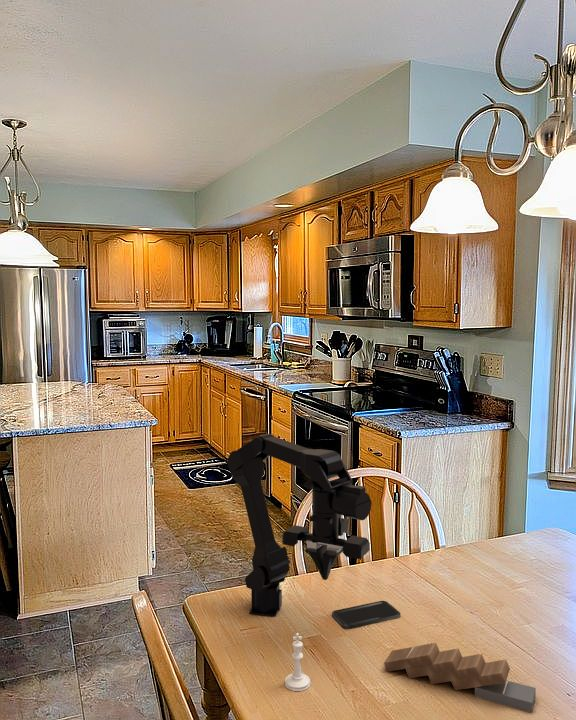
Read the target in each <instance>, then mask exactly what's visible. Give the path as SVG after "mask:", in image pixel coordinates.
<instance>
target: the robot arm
mask: <svg viewBox="0 0 576 720" xmlns="http://www.w3.org/2000/svg"><path fill="white" fill-rule="evenodd" d="M269 457H271V458H273V459H276V460H279V461H282V462H284V463H287V464H289V465H292V466H295V467H296V468H298V469H300V470H301V472H302V473H303V475H305V476H306V477H308V478H309V479H308V480H307V481H306V482H305V483H304V484H303V486H304V487H305V488H307V489H308V488H309V489H311V491H312V492H311V498H312V499H311V506H312V507H311V508H312V509H311V510H312V511H311V512H312V513H311V515H310V516H309V522H311V529H312V530H311V533H310V529H309V528H308V527H307V526H301V525H295V524H294V525H292V526H290V527H289V528H288V529H286V530H285V531H283V533H282V536H281V538H282V539H281V540H282V541H281V542H282V545H285V546H282V547H281V546H280V544H279V543H278V542H277V541H276V538H275V535H274V529H273V526H272V522H271V518H270V515H269V510H268V507H267V506H268V505H267V501H266V498H265V493H264V489H263V485H262V479H263V475H264V471H265V466H264V461H265V460H267V458H269ZM226 461H227V467H228V470H229V473H230V475H231V478H232V479H233V480H234V482H236V484H237V485H238V486H239V487H240V489H241V492H242V497H243V501H244V505H245V510H246V513H247V518H248V522H249V526H250V531H251V534H252V538H253V542H254V550H253V554H252V558H251V563H252V564H251V565H252V571H251V572H249V574H248V575H247V576H246V577H244V582H245V586H246V588H247V589H249V590H251V594H250V595H251V608H250V610H249V614H250V615H259V616H267V617H268V616H269V617H276V616H277V614H278V612H279V611H280V610H281V608H282V605H283V601H282V600H283V597H282V596H283V592H282V591H283V590H282V588H281V587H280V584H281V583H283V582H285V580H286V578H287V577H286V576H287V575H288V573H289V572H290V564H291V560H290V559H289V556H288V550H287V547H286V546H289V547H296V545H297V544H298V543H299V542H305V543H306V548H305V550H304V551H305V553H306V554H307V553H308V554H309V555H310V558H311V559H312V561H313V563H314V564H315V566H316V568H317V570H318V571H317V572H318V573H319V574H320V576H321V579H322V580H324V581H327V580H328V578H329V577H330V573H331V570H332V567H333V565H334V562H335V560H336V559H337V557H338V556H339V555H341V554H344V556H345V557H346V558H349V559H356V560H359V559H360V560H361V559H362V558H364V556H365V555H366V554H367V553H369V552H370V551H371V550H370V548H371V546H370V544H371V543H370V541H369V539H368V537H362V536H358V535H354V534H353V535H350V537H349V538H348V539H344V538H339V537H342V536H343V535H344V534H348V532H349V531H348V530H349V522H350V519H354V520H358V521H364V520H366V519H367V518H368V517H369V515H370V513H371V511H372V510H371V509H372V505H373V504H372V500H371V496H370V495H369V493H367V492H366V491H367V490H366V487H365V486H363V485H355V484H353V483H354V480H353V478H352V477H351V475H350V473H349V471H348V470H347V468H346V466H345V464H344V461H343V459H342V458H341V454H340V453H339V452H337V451H335V450H330V449H329V450H328V449H321V448H320V449H318V448H317V449H313V448H307V447H304V446H302V445H299V444H296V443H294V442H290V441H289V440H285V439H283V438H280V437H277V436H275V435H274V434H272V433H265V434H261V435H257V436H255V438H253V439H252V440H251V441H249V442H248V443H246V444H245V445H243V446H241V447H240V448H238V449H236V450H232V451H231V452H230V453H229V455H228V457H227V459H226ZM331 479H333V480H331ZM342 516H343V517H346V518H343V517H342ZM349 518H350V519H349Z"/></svg>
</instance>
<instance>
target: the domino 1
mask: <svg viewBox="0 0 576 720" xmlns="http://www.w3.org/2000/svg"><path fill="white" fill-rule="evenodd" d="M439 652H441V651H440V649H439V646H438V644H437V642H433V643H432V642H431V643H427V644H421V645H416V646H410V647H405V648H400V649H392V650H391V651H390V653H389V655H388V656H387V657H386V659H385V661H384V662H383V664H384V667H385V670H386V672H393V671H400V670H406V669H407V668H413V667H419V666H425V665H431V664H433V663H434V661H435V659H436V657H437V656H438V654H439Z"/></svg>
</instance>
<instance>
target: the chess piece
mask: <svg viewBox="0 0 576 720" xmlns="http://www.w3.org/2000/svg"><path fill="white" fill-rule="evenodd" d="M292 640H293V642H292V648H293V650H294V652H293V653H292V655H291V657H292V658H293V660H294V667H293V672H292V673H291V674H288V675H287V676H286V678H285V682H284V685H285V687H286V688H287V689H288V690H290V691H293V692H301V691H305V690H308V689H309V688H310V686H311V679H310V677H309V676H308V675H307V674H305V673H303V672H302V665H301V659H303V658H304V655H303V653H302V648H303V645H304V643H303V642H302V641H300V640H303V636H302V635H299V632H297V633H295V636H292Z"/></svg>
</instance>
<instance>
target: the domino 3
mask: <svg viewBox="0 0 576 720" xmlns="http://www.w3.org/2000/svg"><path fill="white" fill-rule="evenodd" d="M485 663H486V661H485V658H484V655H483V653H479V654H478V653H477V654H473V655H467V656H462V659H461V661H460V664H459V666H458V668H457V670H456V671H450V672H444V673H438V674H432V675H427V677H428V679H429V681H430V684H431V685H435V684H441V683H447V682H451V681H455V680H461V679H467V678H474V677H480V676H481V673H482V671H483V668H484V666H485Z"/></svg>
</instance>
